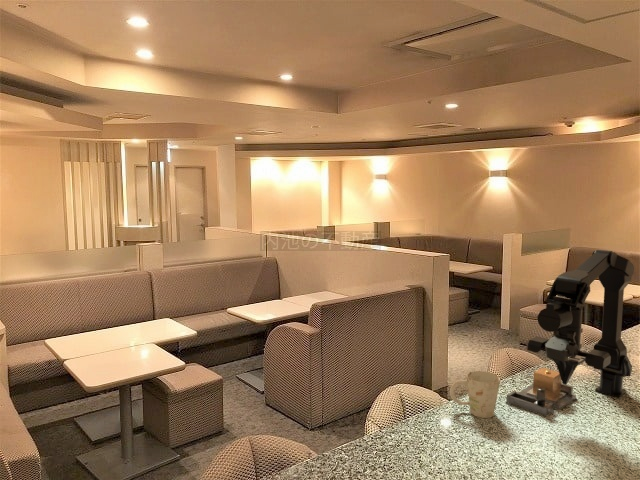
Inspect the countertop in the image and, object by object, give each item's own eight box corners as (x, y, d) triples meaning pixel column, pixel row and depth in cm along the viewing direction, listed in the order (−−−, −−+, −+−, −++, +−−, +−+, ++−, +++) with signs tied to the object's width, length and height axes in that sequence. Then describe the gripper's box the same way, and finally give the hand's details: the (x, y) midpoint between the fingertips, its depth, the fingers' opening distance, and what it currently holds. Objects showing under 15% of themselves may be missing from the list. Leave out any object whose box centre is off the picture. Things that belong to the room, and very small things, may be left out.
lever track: (513, 398, 141) (513, 390, 141) (552, 411, 133) (553, 403, 133) (506, 402, 138) (506, 394, 138) (546, 416, 130) (546, 408, 130)
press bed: (534, 385, 150) (534, 375, 150) (575, 398, 141) (576, 387, 141) (517, 396, 143) (517, 385, 142) (560, 410, 134) (560, 398, 134)
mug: (500, 421, 127) (502, 384, 126) (450, 417, 130) (451, 380, 129) (496, 407, 135) (497, 372, 134) (448, 403, 138) (449, 368, 137)
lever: (536, 404, 135) (537, 386, 135) (547, 407, 133) (548, 389, 133) (533, 406, 134) (534, 388, 133) (543, 410, 132) (544, 392, 131)
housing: (532, 392, 142) (533, 370, 141) (541, 387, 146) (542, 366, 145) (552, 398, 138) (553, 376, 137) (560, 393, 142) (561, 371, 141)
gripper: (518, 323, 128) (515, 381, 130) (596, 339, 114) (592, 404, 116) (537, 315, 136) (534, 370, 137) (613, 330, 122) (609, 391, 124)
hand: (565, 383), depth 128 cm, fingers closed
